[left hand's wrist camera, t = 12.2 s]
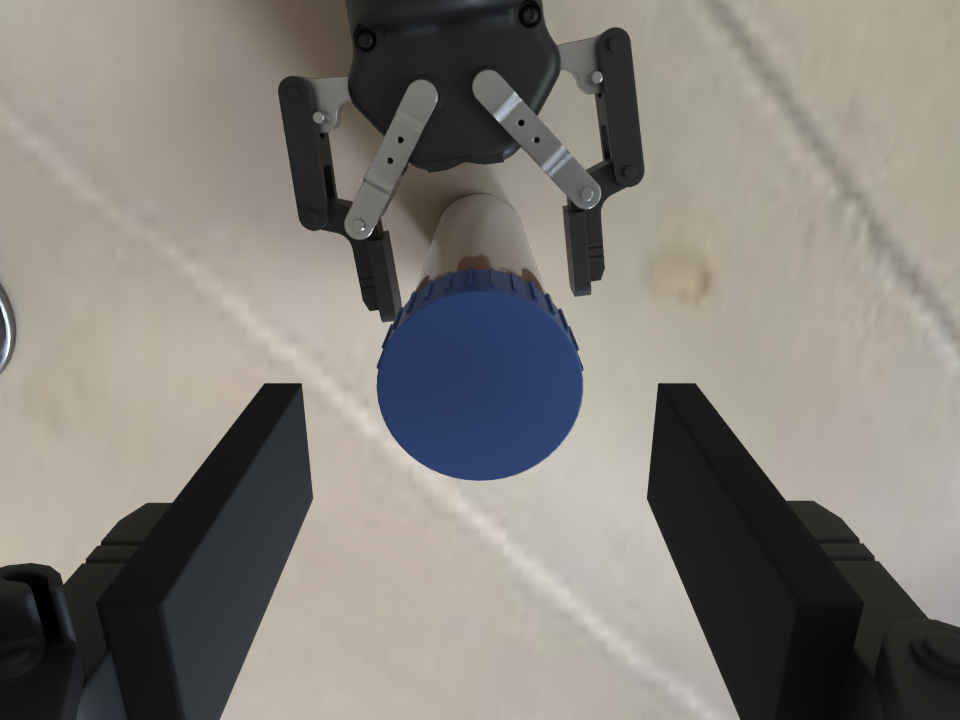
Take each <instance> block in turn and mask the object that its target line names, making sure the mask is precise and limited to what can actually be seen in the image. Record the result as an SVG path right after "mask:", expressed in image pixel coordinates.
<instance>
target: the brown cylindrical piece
mask: <svg viewBox="0 0 960 720" xmlns="http://www.w3.org/2000/svg"><path fill="white" fill-rule="evenodd" d="M469 267H473V270H475V269H486V270H490V267H493V268H494V270H496V271H500V272H505V273H508V274H510V273H511V272H514V273H515V276H517V277H519V278H521V279H523V280H525V281H527V282H530V280H531V281H533V282H534V285H535V287H536V288H538V289H539V290H540V291H542V292H543V293H544V294H546V291H545V288H544V285H543V283H542V280H541V277H540V274H539V271H538V268H537V265H536V263H535V260H534V257H533V254H532V251H531V248H530V245H529V243H528V240H527V237H526V234H525V231H524V228H523V225H522V223H521V220H520V218H519V216H518V215H517V213H516V212H515V210H514V209H513V208H512V207H511V206H510V205H509V204H508V203H506V202H505V201H503V200H502V199H500V198H498V197H495V196H492V195H488V194H473V195H468V196H465V197H462V198H460V199H458V200H457V201H455V202H454V203H452V204H451V205H450V206H449V207H448V208H447V209H446V210H445V212H444V213H443V215H442V216H441V218H440V220H439V223H438V226H437V229H436V231H435V234H434V237H433V240H432V243H431V246H430V249H429V251H428V254H427V257H426V260H425V263H424V266H423V269H422V271H421V274H420V277H419V280H418V283H417V286H416V289H415V292H416V293H417V292H419V291H420V290H421V289H422V288H423V287H425V286H426V285H427V284H428V281H429V280H431V279H432V281H435V280H437V279H439V278H441V277H443V276H446V275H447V272H449V271H451V272H452V273H455V272H459V271H465V270H468V268H469Z"/></svg>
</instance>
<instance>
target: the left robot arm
mask: <svg viewBox="0 0 960 720" xmlns="http://www.w3.org/2000/svg"><path fill="white" fill-rule="evenodd" d="M312 500H313V493H312V483H311V472H310V462H309V452H308V442H307V432H306V422H305V412H304V402H303V392H302V383H265V384H264V385H263V386H262V388H261V389H260V390H259V391H258V393H257V394H256V395H255V397H254V398H253V399H252V400H251V402H250V403H249V404H248V406H247V407H246V408H245V410H244V411H243V412H242V413H241V415H240V416H239V417H238V419H237V420H236V421H235V423H234V424H233V425H232V426H231V428H230V429H229V430H228V432H227V433H226V434H225V435H224V437H223V438H222V439H221V441H220V442H219V443H218V445H217V446H216V447H215V448H214V450H213V451H212V452H211V454H210V455H209V456H208V458H207V459H206V460H205V461H204V463H203V464H202V465H201V467H200V468H199V469H198V470H197V472H196V473H195V474H194V476H193V477H192V478H191V480H190V481H189V482H188V483H187V485H186V486H185V487H184V489H183V490H182V491H181V493H180V494H179V495H178V496H177V498H176V499H175V500H174V502H173V503H146V504H145V505H143V506H142V507H140V508H138V509H137V510H135V511H134V512H132V513H131V514H129V515H127V516H126V517H124V518H123V519H121V520H120V521H119V522H118V523H117V524H116V525H115V526H114V527H113V528H112V530H111V531H110V532H109V533H108V534H107V535H106V537H105V538H104V539H103V540H102V541H101V546H97V547H96V548H95V549H94V550H93V552H92V553H91V554H90V555H89V556H88V557H87V559H86V563H85V564H81V565H80V567H79V568H78V569H77V570H76V571H75V572H74V574H73V575H72V576H71V577H70V578H69V579H68V580H67V582H66V583H65V584H64V585H63V582H62V578H61V575H60V573H58V572H57V571H56V570H54V569H53V568H52V567H50V566H47V565H41V564H34V563H27V564H17V565H8V566H4V567H1V568H0V720H220V717H221V715H222V713H223V710H224V708H225V706H226V703H227V701H228V699H229V696H230V694H231V691H232V689H233V687H234V684H235V682H236V680H237V677H238V675H239V673H240V670H241V668H242V665H243V663H244V661H245V658H246V656H247V654H248V651H249V649H250V647H251V644H252V642H253V639H254V637H255V635H256V632H257V630H258V628H259V625H260V623H261V621H262V618H263V616H264V613H265V611H266V609H267V606H268V604H269V602H270V599H271V597H272V595H273V592H274V590H275V587H276V585H277V583H278V580H279V578H280V576H281V573H282V571H283V569H284V566H285V564H286V561H287V559H288V557H289V554H290V552H291V550H292V547H293V545H294V543H295V540H296V538H297V535H298V533H299V531H300V528H301V526H302V524H303V521H304V519H305V517H306V514H307V512H308V509H309V507H310V505H311V502H312ZM647 500H648V502H649V505H650V507H651V509H652V512H653V514H654V517H655V519H656V521H657V524H658V526H659V528H660V531H661V533H662V535H663V538H664V540H665V543H666V545H667V547H668V550H669V552H670V554H671V557H672V559H673V561H674V564H675V566H676V569H677V571H678V573H679V576H680V578H681V580H682V583H683V585H684V587H685V590H686V592H687V595H688V597H689V599H690V602H691V604H692V606H693V609H694V611H695V613H696V616H697V618H698V621H699V623H700V625H701V628H702V630H703V632H704V635H705V637H706V639H707V642H708V644H709V647H710V649H711V651H712V654H713V656H714V658H715V661H716V663H717V665H718V668H719V670H720V673H721V675H722V677H723V680H724V682H725V684H726V687H727V689H728V691H729V694H730V696H731V699H732V701H733V703H734V706H735V708H736V710H737V713H738V715H739V717H740V720H960V628H959V627H956V626H953V625H950V624H947V623H944V622H941V621H938V620H932V619H928V617H927V616H926V615H925V614H924V613H923V612H922V611H921V609H920V608H919V607H918V606H917V605H916V604H915V602H914V601H913V600H912V599H911V598H910V597H909V596H908V594H907V593H906V592H905V591H904V590H903V589H902V588H901V586H900V585H899V584H898V583H897V582H896V581H895V580H894V578H893V577H892V576H891V575H890V574H889V573H888V572H887V570H886V569H885V568H884V567H883V566H882V565H881V563H880V562H879V561H875V559H874V558H875V557H874V555H873V554H872V553H871V552H870V551H869V550H868V549H867V547H866V546H865V545H864V544H863V543H860V542H859V538H858V537H857V536H856V535H855V534H854V533H853V531H852V530H851V529H850V528H849V527H848V526H847V524H846V523H845V522H844V521H843V520H842V519H841V518H840V517H838V516H836V515H835V514H833V513H832V512H830V511H829V510H827V509H825V508H824V507H822V506H821V505H819V504H818V503H816V502H814V501H786V500H785V499H784V498H783V496H782V495H781V494H780V493H779V491H778V490H777V489H776V487H775V486H774V485H773V483H772V482H771V481H770V480H769V478H768V477H767V476H766V474H765V473H764V472H763V470H762V469H761V468H760V467H759V465H758V464H757V463H756V461H755V460H754V459H753V458H752V456H751V455H750V454H749V452H748V451H747V450H746V448H745V447H744V446H743V445H742V443H741V442H740V441H739V439H738V438H737V437H736V435H735V434H734V433H733V432H732V430H731V429H730V428H729V426H728V425H727V424H726V423H725V421H724V420H723V419H722V417H721V416H720V415H719V413H718V412H717V411H716V410H715V408H714V407H713V406H712V404H711V403H710V402H709V400H708V399H707V398H706V397H705V395H704V394H703V393H702V391H701V390H700V389H699V388H698V386H697V385H696V384H695V383H658V392H657V402H656V412H655V422H654V432H653V442H652V452H651V462H650V472H649V483H648V493H647Z"/></svg>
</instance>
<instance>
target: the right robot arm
mask: <svg viewBox="0 0 960 720" xmlns="http://www.w3.org/2000/svg"><path fill="white" fill-rule="evenodd" d="M345 2H346V8H347V13H348V19H349V24H350V30H351V35H352V41H353V62H352V67H351V70H350V73H349V76H341V77H329V78H316V79H309V78H307V77H302V76H289V77H286V78H285V79H283V80H282V81H281V83H280V85H279V88H278V94H279V100H280V106H281V113H282V119H283V125H284V131H285V137H286V143H287V149H288V155H289V161H290V167H291V173H292V179H293V186H294V192H295V198H296V204H297V210H298V216H299V220H300V222H301V224H302V225H303V226H304V227H305V228H307V229H309V230H312V231H317V230H320V229H321V230H326V231H330V232H335V233H339V234H341V235H343V236H345V237H346V238H347V239H348V240H349V242H350V243H351V245H352V248H353V253H354V258H355V263H356V268H357V273H358V278H359V283H360V287H361V293H362V298H363V301H364V303H365V305H366V306H367V308H368V309H369V311H374V310H379V312H380V316H381V320H382V322H390V321H394V320H395V318H396V315H397V313H398V310H399V308H400V307H402V303H401V297H400V291H399V286H398V280H397V275H396V269H395V264H394V258H393V253H392V247H391V241H390V236H389V231H383V228H382V222H381V219H382V217H383V215H384V213H385V212H386V210H387V208H388V206H389V204H390V202H391V200H392V198H393V196H394V194H395V192H396V190H397V188H398V187H399V185H400V183H401V181H402V180H403V178H404V176H405V174H406V172H407V170H408V168H409V166H410V164H412V165H414V166H415V167H417V168H420V169H423V170H428V172H435V171H443V170H448V169H450V168H452V167H455V166H457V165H459V164H462V163H464V162H470V163H477V164H485V165H486V164H493V163H500V162H504V160H505V159H507V158H509V157H510V156H512V155H513V154H515V153H516V152H517V151H518V150H519V148H520V147H522V148H523V149H524V150H525V151H526V152H527V153H528V154H529V156H530V157H531V158H532V159H533V160H534V161H535V162H536V163H537V164H538V165H539V166H540V167H541V168H542V169H543V171H544V172H545V173H546V174H547V175H548V176H549V177H550V178H551V179H552V180H553V181H554V182H555V183H556V184H557V186H558V187H559V188H560V189H561V190H562V191H563V192H564V193H565V194H566V195H567V204H568V205H567V206H563V216H564V227H565V238H566V249H567V261H568V272H569V281H570V287H571V290H572V292H573V294H574V296H575V297H577V296H584V295H591V281H598V280H601V278H602V275H603V272H604V269H605V266H604V252H603V238H602V224H601V208H602V205H603V203H604V201H605V200H606V199H607V198H608V197H609V196H611V195H612V194H614V193H616V192H618V191H620V190H622V189H624V188H626V187H632V186H635V185H637V184H638V183H639V182H640V181H641V180H642V178H643V176H644V162H643V152H642V143H641V134H640V125H639V116H638V106H637V97H636V88H635V79H634V70H633V60H632V51H631V42H630V38H629V35H628V34H627V32H626V31H625V30H623V29H621V28H617V27H616V28H610V29H608V30H607V31H605V32H603V33H601V34H600V35H598V36H596V37H593V38H589V39H584V40H579V41H575V42H570V43H565V44H561V45H556V44H555V42H554V41H553V39H552V38H551V36H550V34H549V32H548V30H547V27H546V24H545V20H544V15H543V5H542V0H345ZM561 70H562V71H567V72H569V73H571V74H572V75H573V76H574V78H575V80H576V83H577V86H578V88H579V89H580V91H581V92H583V93H585V94H590V95H591V94H595V99H596V107H597V115H598V123H599V130H600V138H601V146H602V154H603V161H602V162H600V163H598V164H596V165H594V166H593V167H591V168H589V169H587V170H585V169H584V168H583V167H582V166H581V165H580V164H579V163H578V162H577V161H576V159H575V158H574V157H573V156H572V155H571V154H570V153H569V151H568V150H567V149H566V148H565V147H564V145H563V144H562V143H561V142H560V141H559V140H558V139H557V138H556V137H555V135H554V134H553V133H552V132H551V131H550V130H549V129H548V128H547V127H546V126H545V125H544V123H543V122H542V121H541V120H540V119H539V118H538V117H537V116H538V114H539V112H540V111H541V109H542V107H543V105H544V103H545V101H546V99H547V97H548V96H549V94H550V92H551V90H552V88H553V86H554V84H555V82H556V81H557V79H558V76H559V74H560V71H561ZM350 101H352V102H353V104H354V105H355V107H356V108H357V109H358V110H359V111H360V112H361V113H362V114H363V115H364V116H365V117H366V118H367V119H368V120H369V121H370V123H371V124H372V125H373V126H374V127H375V128H376V129H377V130H378V131H379V132H380V133H381V134H382V135H383V136H384V139H383V141H382V143H381V145H380V147H379V149H378V151H377V153H376V155H375V157H374V159H373V161H372V163H371V165H370V167H369V169H368V171H367V173H366V175H365V178H364V181H363V184H362V186H361V188H360V190H359V192H358V194H357V196H356V198H355V200H354V202H352V201H348V200H343V199H339V198H337V191H336V184H335V177H334V170H333V163H332V156H331V149H330V142H329V135H328V132H332V131H334V130H336V129H337V128H338V127H339V125H340V123H341V113H342V109H343V107H344V106H345V105H346V104H347V103H348V102H350ZM15 342H16V323H15V317H14V313H13V309H12V306H11V303H10V301H9V299H8V296H7V294H6V292H5V291H4V289H3V287H2V285H1V284H0V374H1V373H2V371H3V370H4V369H5V368H6V366H7V365H8V363H9V361H10V359H11V357H12V354H13V351H14V347H15Z"/></svg>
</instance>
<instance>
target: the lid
mask: <svg viewBox="0 0 960 720" xmlns="http://www.w3.org/2000/svg"><path fill="white" fill-rule="evenodd" d="M382 348H383V351H382V354H381V356H380V359H379V362H378V364H377V368H378V375H377V394H378V402H379V406H380V410H381V414H382V416H383V418H384V421H385V423H386V425H387V427H388V429H389V431H390V432H391V434H392V436H393V437H394V438H395V440H396V441H397V442H398V443H399V445H400V446H401V447H402V448H403V449H404V450H405V451H406V452H407V453H408V454H409V455H410V456H412V457H413V458H414V459H416V460H417V461H418V462H420V463H421V464H423V465H425V466H426V467H428V468H430V469H432V470H434V471H436V472H439V473H441V474H444V475H447V476H450V477H454V478H459V479H465V480H477V481H482V480H495V479H501V478H506V477H509V476H513V475H516V474H519V473H521V472H524V471H526V470H528V469H530V468H532V467H534V466H535V465H537V464H539V463H540V462H542V461H543V460H544V459H546V458H547V457H549V456H550V455H551V454H552V453H553V452H554V451H555V450H556V449H557V448H558V447H559V446H560V445H561V443H562V442H563V441H564V440H565V438H566V437H567V436H568V434H569V432H570V431H571V429H572V427H573V425H574V423H575V421H576V419H577V416H578V413H579V410H580V406H581V402H582V395H583V376H582V371H583V366H582V363H581V360H580V358H579V355H578V353H577V351H578V350H579V348H578V345H577V343H576V340H575V338H574V335H573V333H572V330H571V328H570V326H569V327H568V324H567V322H566V319H565V316H564V314H563V311H562V310H561V309H559V310H558V309H557V308H556V306H555V305H554V304H553V303H552V300H551V297H550V295H549V294H548V293H546V294H544V293H543V292H542V291H540V290H539V289H538V288H536V287H535V285H534V282H533V281H531V280H530V282H527V281H525V280H523V279H521V278H519V277H517V276H515V273H514V272H511V273H510V274H508V273H505V272H500V271H496V270H494V268H493V267H490V270H486V269H475V270H473V267H469V268H468V270H465V271H459V272H455V273H452V272H451V271H449V272H447V275H446V276H443V277H441V278H439V279H437V280H435V281H432V279H431V280H429V281H428V284H427V285H426V286H425V287H423V288H422V289H421V290H420V291H419V292H417V293H416V292H415V291H414V292H413V293H412V295H411V297H410V300H409V301H408V303H407V304H406V305H405V306H404V308H402V307H400V308H399V310H398V313H397V315H396V318H395V320H394V323H393V325H392V324H391V325H390V328H389V330H388V333H387V335H386V338H385V340H384V343H383V345H382Z"/></svg>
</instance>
